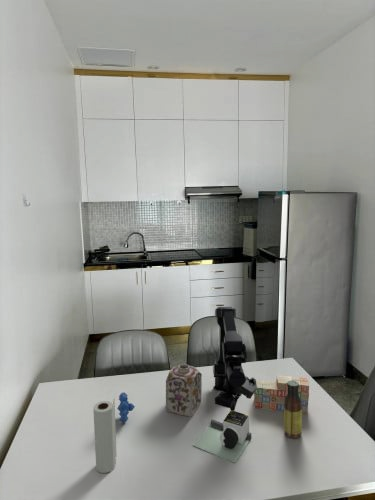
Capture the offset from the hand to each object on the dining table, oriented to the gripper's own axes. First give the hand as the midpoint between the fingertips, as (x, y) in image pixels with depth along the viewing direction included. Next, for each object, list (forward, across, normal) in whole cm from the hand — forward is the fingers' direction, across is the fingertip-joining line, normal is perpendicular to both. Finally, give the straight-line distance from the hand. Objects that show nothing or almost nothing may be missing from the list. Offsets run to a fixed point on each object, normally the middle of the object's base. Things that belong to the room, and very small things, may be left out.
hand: (232, 410), depth 134 cm
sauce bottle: (+8, +8, -20) cm, 23 cm away
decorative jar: (+8, +3, +23) cm, 24 cm away
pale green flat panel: (+7, -10, 0) cm, 12 cm away
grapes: (+7, -17, +37) cm, 41 cm away
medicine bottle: (+3, 0, -3) cm, 4 cm away
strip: (+7, -2, 0) cm, 8 cm away
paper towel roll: (+6, -38, +27) cm, 47 cm away
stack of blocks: (+8, +23, -11) cm, 27 cm away
